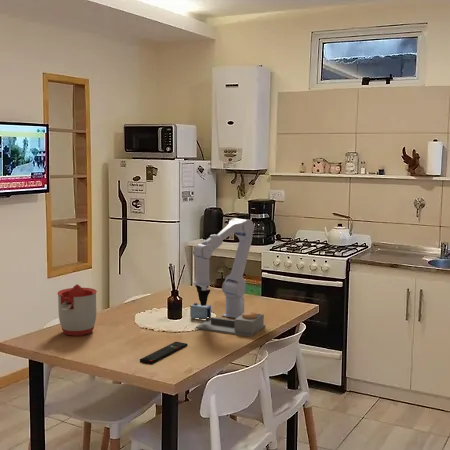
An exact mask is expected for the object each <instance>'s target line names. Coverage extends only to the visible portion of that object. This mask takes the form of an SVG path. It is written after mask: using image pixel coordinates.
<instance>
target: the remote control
mask: <svg viewBox="0 0 450 450" xmlns="http://www.w3.org/2000/svg"><path fill="white" fill-rule="evenodd" d="M185 347H188V343H186V342H180V341H174V342H172V343H170V344H168V345H165V346H164V347H162V348H160V349H158V350H156V351H154V352H151V353H150V354H148V355H145V356H144V357H142V358H140V359H139V362H140V363H142V364H144V365H145V364H147V365H153V364H155V363H156V362H158V361H161V360H162V359H165V358H166V357H169V356H170V355H172V354H174V353H176V352H177V351H180V350H181V349H183V348H185Z"/></svg>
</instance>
